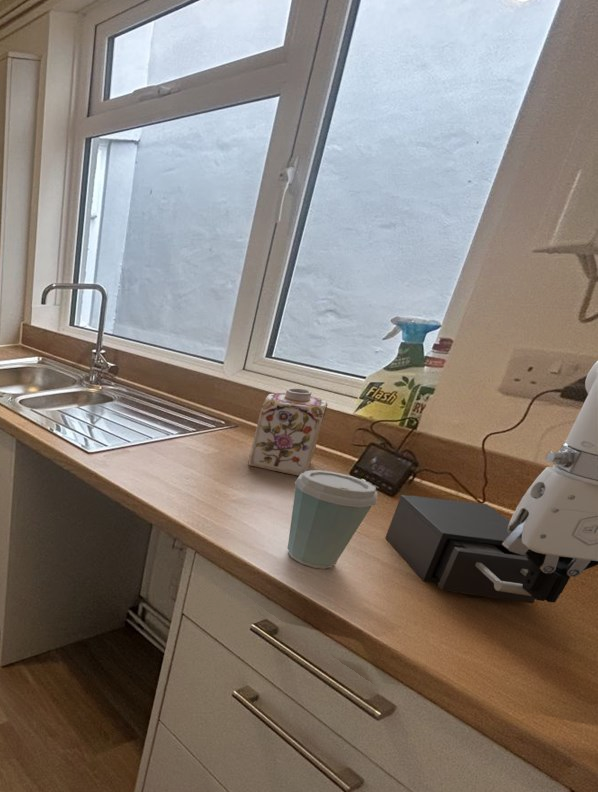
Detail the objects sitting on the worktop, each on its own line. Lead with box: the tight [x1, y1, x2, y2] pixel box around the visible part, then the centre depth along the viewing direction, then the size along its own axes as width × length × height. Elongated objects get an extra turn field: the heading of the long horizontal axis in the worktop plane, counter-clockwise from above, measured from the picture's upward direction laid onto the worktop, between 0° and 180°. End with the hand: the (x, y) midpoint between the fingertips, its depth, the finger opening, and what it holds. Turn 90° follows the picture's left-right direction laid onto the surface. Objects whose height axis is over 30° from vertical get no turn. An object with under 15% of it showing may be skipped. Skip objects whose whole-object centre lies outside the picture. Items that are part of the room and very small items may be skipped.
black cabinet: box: [385, 494, 510, 584], centre depth 84 cm, size 14×12×9 cm
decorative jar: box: [247, 387, 329, 477], centre depth 121 cm, size 12×12×18 cm
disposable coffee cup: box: [287, 469, 379, 570], centre depth 85 cm, size 11×11×15 cm
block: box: [457, 540, 504, 554], centre depth 79 cm, size 4×4×4 cm
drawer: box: [433, 538, 561, 605], centre depth 78 cm, size 19×10×7 cm, turn 161°
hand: (537, 594), depth 68 cm, fingers closed
